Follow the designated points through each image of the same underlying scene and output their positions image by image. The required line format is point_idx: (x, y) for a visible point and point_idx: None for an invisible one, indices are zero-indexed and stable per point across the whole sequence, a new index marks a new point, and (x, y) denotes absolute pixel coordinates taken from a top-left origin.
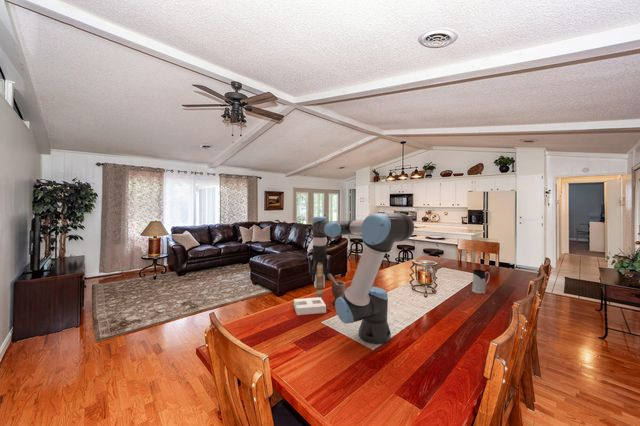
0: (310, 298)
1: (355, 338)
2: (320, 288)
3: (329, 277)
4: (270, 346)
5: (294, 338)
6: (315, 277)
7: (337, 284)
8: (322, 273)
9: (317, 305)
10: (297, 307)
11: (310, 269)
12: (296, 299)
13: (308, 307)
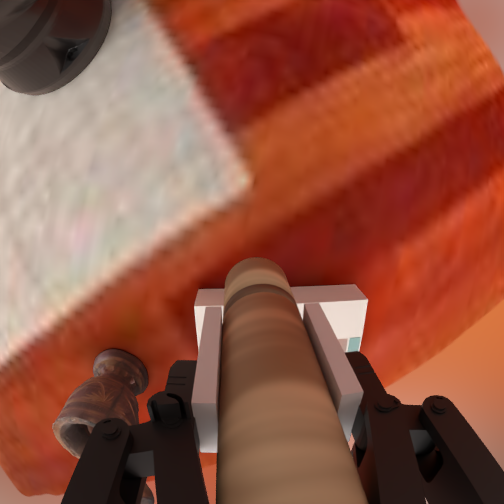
0: None
1: (133, 9)
2: (260, 290)
3: None
4: (472, 54)
5: (401, 65)
6: (351, 377)
7: None
8: (236, 429)
9: None
10: (363, 310)
11: (478, 455)
12: None
13: (304, 303)
